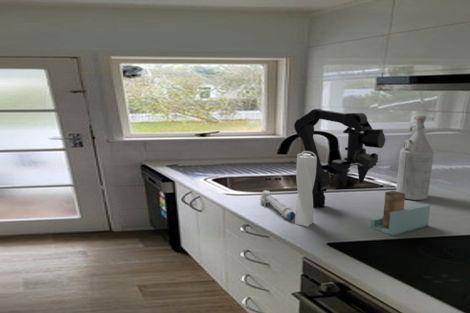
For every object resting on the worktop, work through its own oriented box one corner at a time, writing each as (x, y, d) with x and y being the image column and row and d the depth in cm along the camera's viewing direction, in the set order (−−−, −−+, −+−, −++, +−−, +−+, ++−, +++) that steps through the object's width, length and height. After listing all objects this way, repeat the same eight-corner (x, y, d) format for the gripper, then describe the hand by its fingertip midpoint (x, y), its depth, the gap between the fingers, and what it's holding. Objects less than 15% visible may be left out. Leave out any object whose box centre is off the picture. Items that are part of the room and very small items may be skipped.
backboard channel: (370, 226, 120) (372, 206, 119) (405, 218, 129) (407, 198, 128) (392, 235, 112) (394, 213, 111) (428, 225, 121) (430, 205, 120)
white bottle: (388, 195, 160) (395, 114, 154) (410, 191, 168) (417, 113, 162) (412, 202, 149) (421, 115, 143) (435, 197, 158) (444, 114, 151)
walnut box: (382, 226, 119) (385, 192, 117) (390, 224, 121) (393, 190, 119) (393, 231, 115) (396, 195, 113) (401, 228, 117) (405, 193, 115)
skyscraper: (309, 228, 118) (313, 152, 114) (290, 224, 122) (293, 150, 118) (316, 221, 125) (320, 149, 120) (298, 218, 129) (301, 147, 124)
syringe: (285, 212, 125) (258, 187, 147) (284, 228, 126) (257, 201, 149) (297, 210, 126) (269, 186, 149) (296, 226, 128) (267, 200, 151)
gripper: (354, 149, 116) (351, 192, 118) (389, 146, 124) (386, 186, 127) (331, 145, 126) (329, 185, 128) (365, 143, 134) (363, 180, 137)
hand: (352, 184), depth 130 cm, fingers open, 9 cm apart
